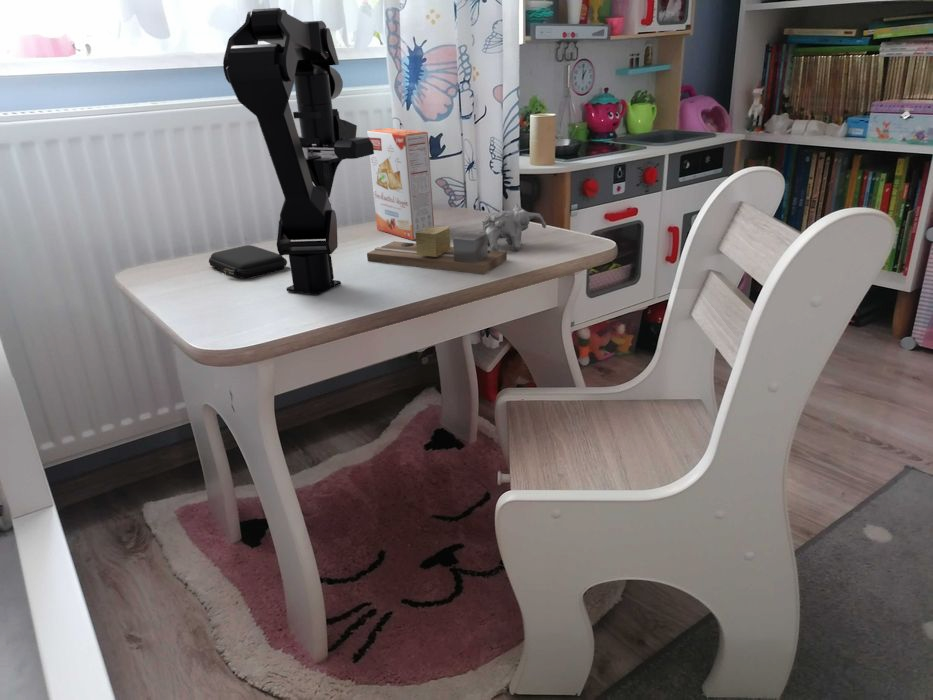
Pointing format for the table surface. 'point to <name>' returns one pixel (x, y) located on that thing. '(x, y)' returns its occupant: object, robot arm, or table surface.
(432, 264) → the board
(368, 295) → the table surface
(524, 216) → the elephant statuette
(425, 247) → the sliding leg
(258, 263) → the carrying case or bag
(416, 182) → the cracker box
